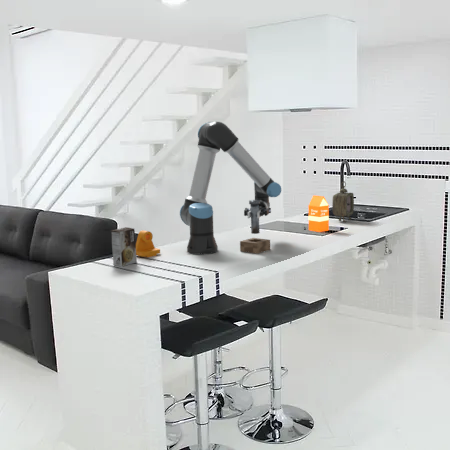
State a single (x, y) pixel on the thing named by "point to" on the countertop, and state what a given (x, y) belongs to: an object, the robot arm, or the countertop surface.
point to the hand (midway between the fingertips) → (253, 215)
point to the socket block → (255, 245)
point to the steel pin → (254, 216)
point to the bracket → (145, 245)
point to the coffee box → (123, 246)
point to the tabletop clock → (343, 203)
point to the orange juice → (318, 214)
